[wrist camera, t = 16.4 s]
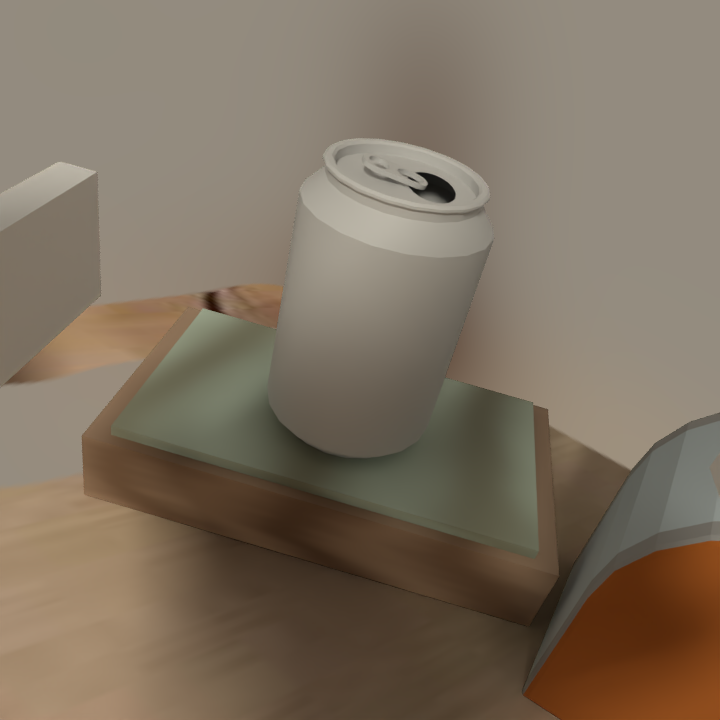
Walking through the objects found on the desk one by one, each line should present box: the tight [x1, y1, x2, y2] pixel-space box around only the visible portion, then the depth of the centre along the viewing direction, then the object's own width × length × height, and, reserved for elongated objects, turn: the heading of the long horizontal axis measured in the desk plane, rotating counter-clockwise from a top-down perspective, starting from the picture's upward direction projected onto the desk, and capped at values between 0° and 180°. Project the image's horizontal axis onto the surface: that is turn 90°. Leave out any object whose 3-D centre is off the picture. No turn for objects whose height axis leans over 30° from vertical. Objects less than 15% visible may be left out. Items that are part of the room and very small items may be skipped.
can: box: [267, 138, 494, 459], centre depth 28 cm, size 8×8×12 cm
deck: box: [82, 307, 559, 627], centre depth 33 cm, size 20×11×4 cm, turn 79°
